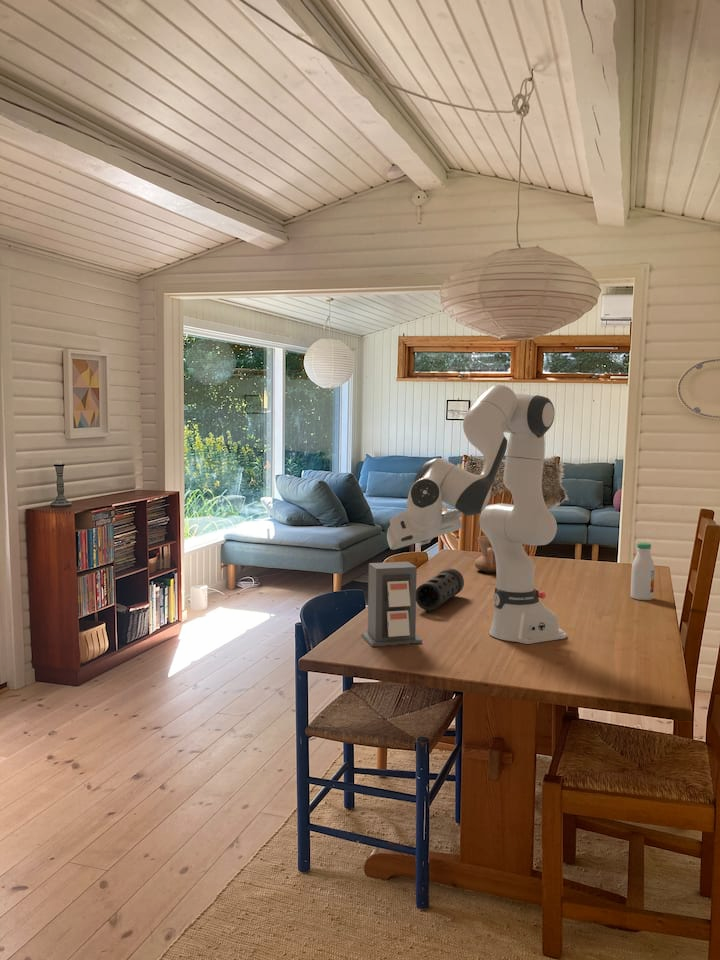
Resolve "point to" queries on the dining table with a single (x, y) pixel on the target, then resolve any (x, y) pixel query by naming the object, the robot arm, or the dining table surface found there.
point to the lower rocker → (398, 623)
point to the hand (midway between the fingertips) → (424, 541)
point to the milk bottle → (642, 574)
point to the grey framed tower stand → (380, 603)
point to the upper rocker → (398, 593)
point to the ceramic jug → (486, 556)
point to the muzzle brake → (439, 589)
